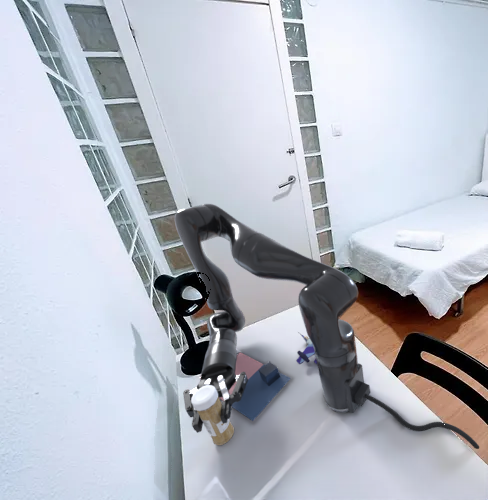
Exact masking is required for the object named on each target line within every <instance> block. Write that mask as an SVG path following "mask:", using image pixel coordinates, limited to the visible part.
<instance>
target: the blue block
mask: <svg viewBox="0 0 488 500" xmlns="http://www.w3.org/2000/svg"><path fill="white" fill-rule="evenodd" d="M258 371H259V373H260V376H261V379H262V380H263V381H264V382H265V383H266V384H267V385H268V386H270V385H271V384H272V383H273V382H275V381H276V380H277V379H278V378H279V377H280V375H279V372H280V371H279V368H278V366H277V365H275V364H274V363H273V362H272V361H270V360H269V361H267V363H266V364H264V366H263V367H261V368H260V369H259V370H258Z"/></svg>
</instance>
